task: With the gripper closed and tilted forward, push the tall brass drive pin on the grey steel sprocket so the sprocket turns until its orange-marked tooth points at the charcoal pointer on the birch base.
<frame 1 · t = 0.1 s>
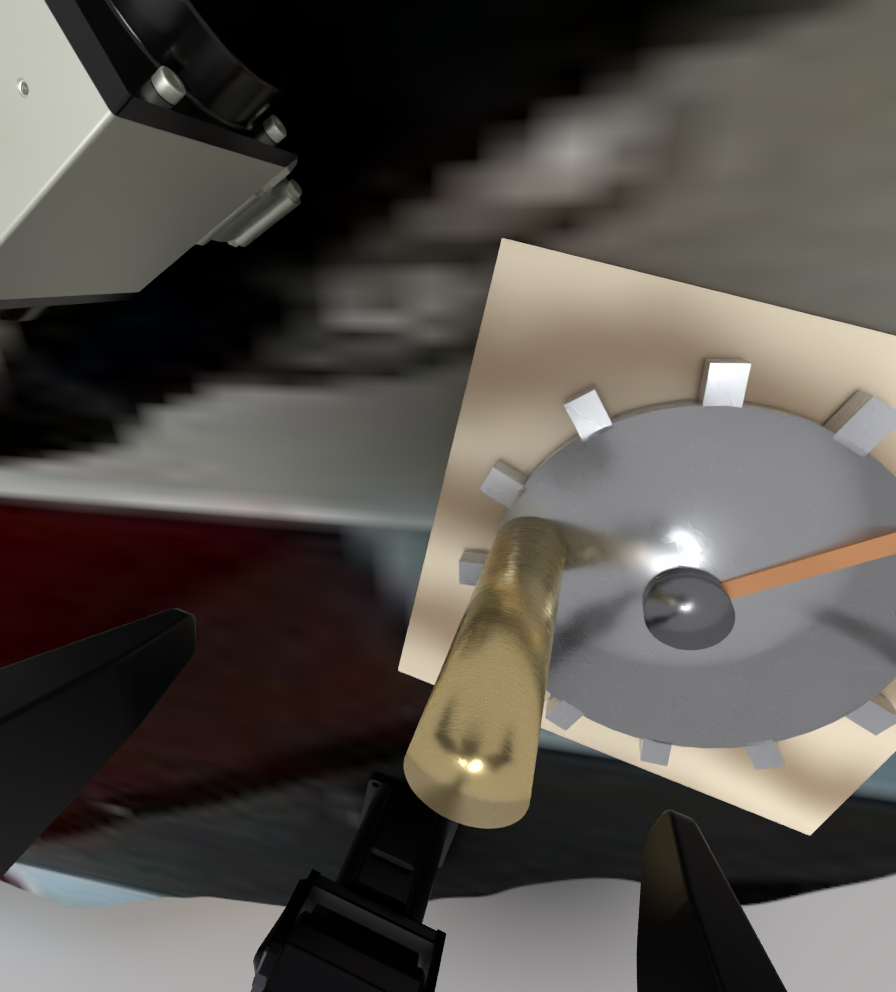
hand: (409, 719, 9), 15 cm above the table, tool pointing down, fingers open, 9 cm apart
sprocket base: (678, 572, 22), on the table
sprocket: (706, 694, 16), point 7 cm above the table, hinge at 0.0°
pneumatic valve: (251, 175, 20), on the table
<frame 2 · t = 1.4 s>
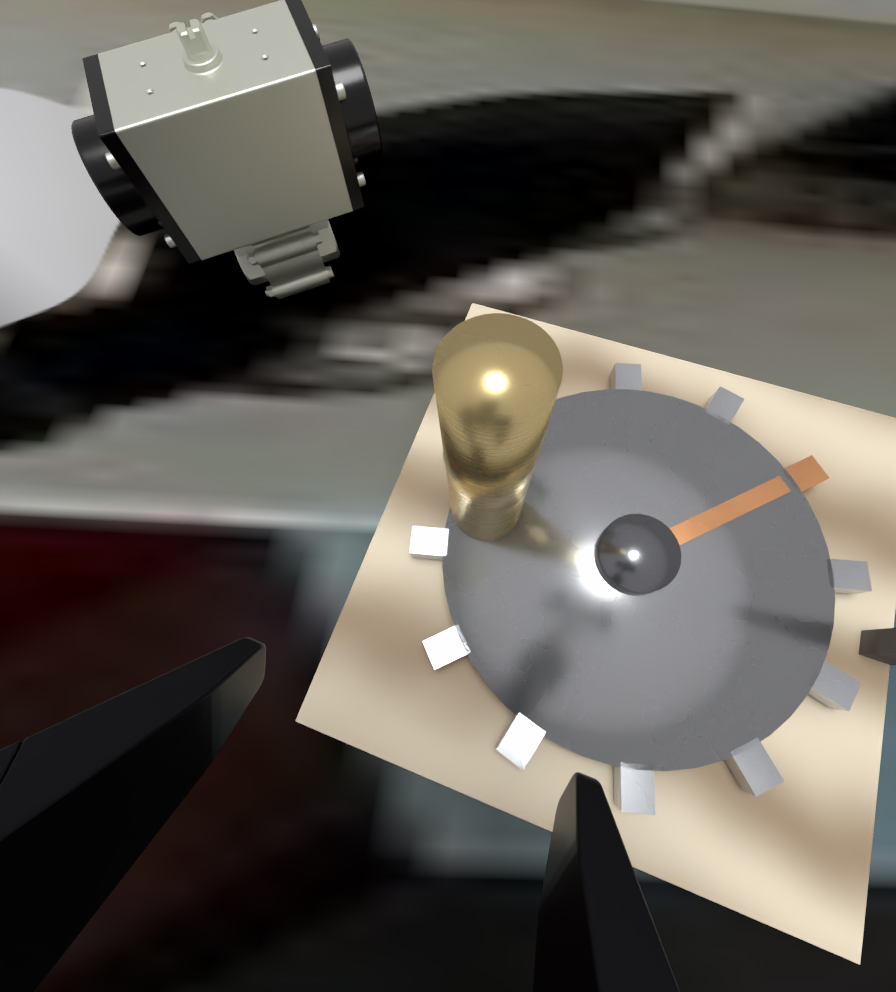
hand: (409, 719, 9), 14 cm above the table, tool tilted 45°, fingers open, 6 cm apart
sprocket base: (618, 566, 23), on the table
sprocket: (679, 526, 16), point 7 cm above the table, hinge at 0.0°
pneumatic valve: (297, 269, 30), on the table
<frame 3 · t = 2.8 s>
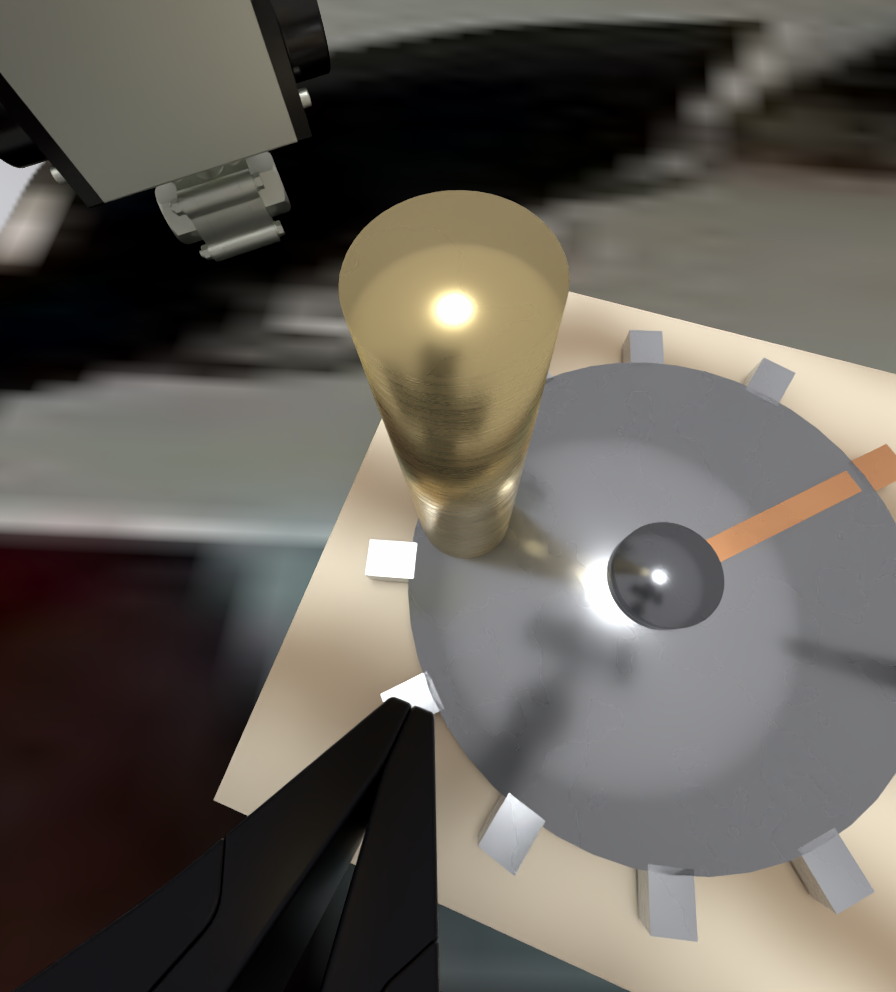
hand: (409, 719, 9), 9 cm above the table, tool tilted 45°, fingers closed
sprocket base: (636, 588, 18), on the table
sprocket: (735, 543, 11), point 7 cm above the table, hinge at 0.0°
pneumatic valve: (242, 227, 25), on the table
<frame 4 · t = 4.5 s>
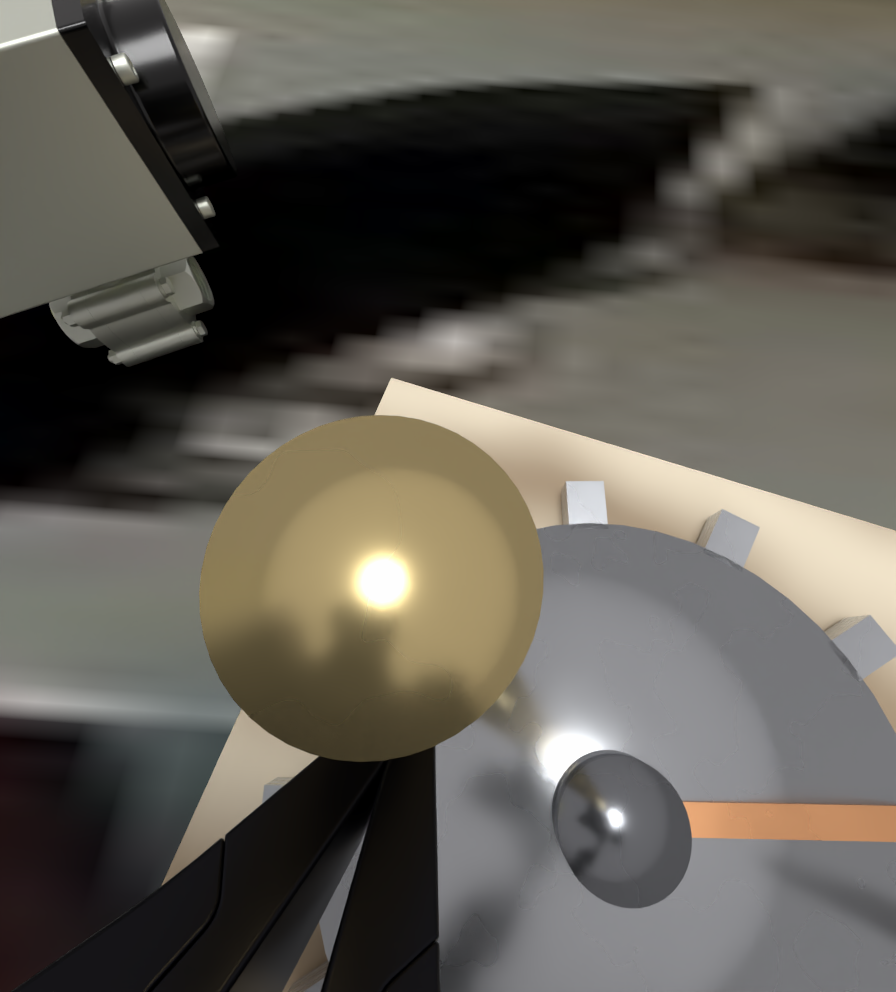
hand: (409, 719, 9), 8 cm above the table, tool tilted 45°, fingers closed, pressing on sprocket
sprocket base: (593, 795, 15), on the table
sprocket: (694, 904, 8), point 7 cm above the table, hinge at -25.4°, touching gripper
pneumatic valve: (162, 322, 22), on the table
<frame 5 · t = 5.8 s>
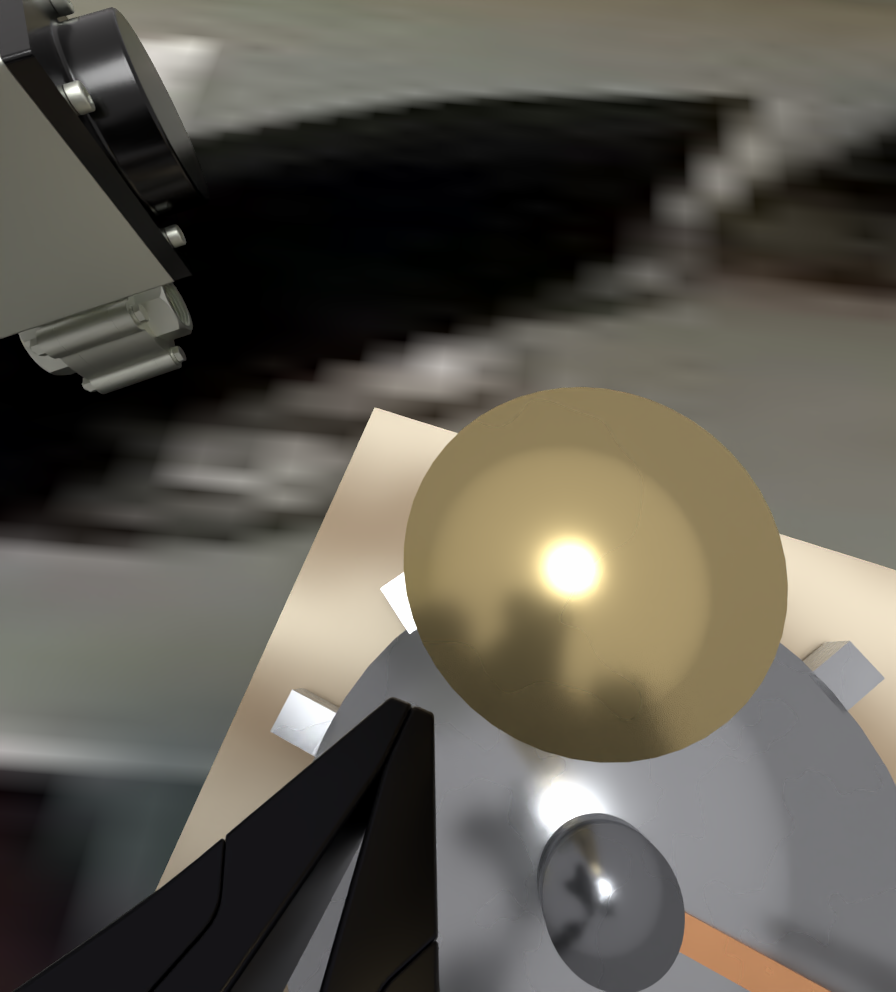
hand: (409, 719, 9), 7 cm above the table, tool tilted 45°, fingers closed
sprocket base: (583, 854, 14), on the table
pneumatic valve: (140, 346, 21), on the table
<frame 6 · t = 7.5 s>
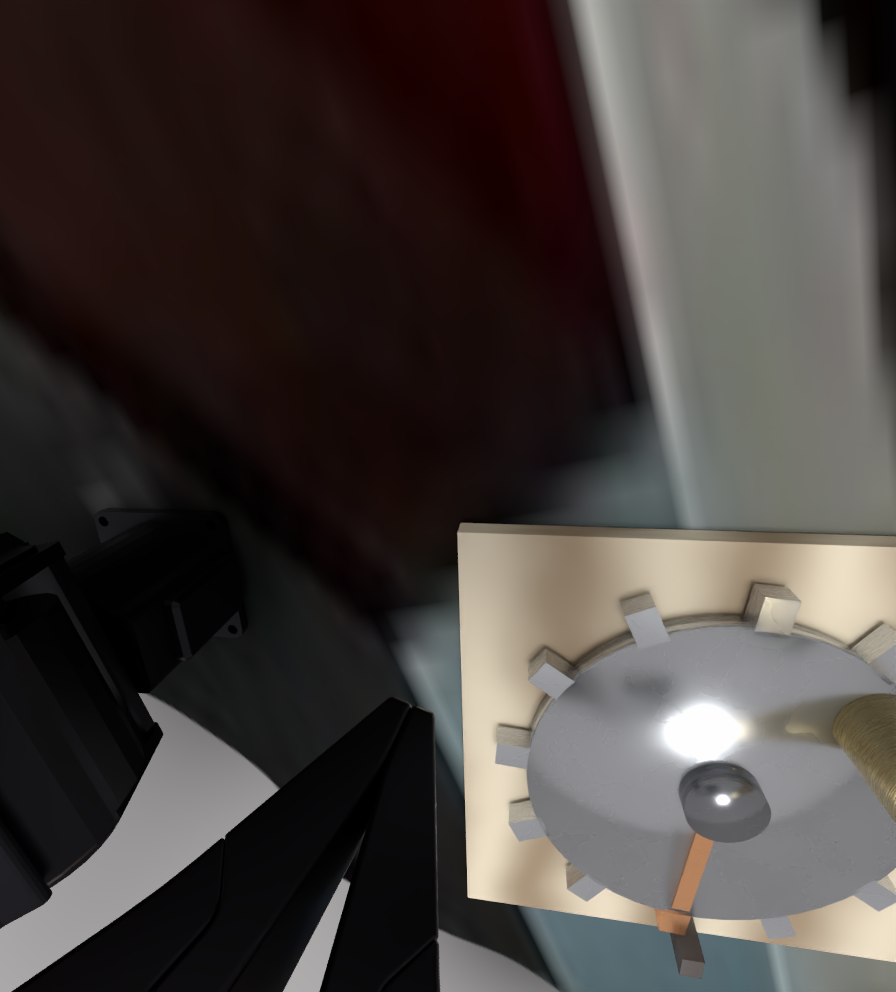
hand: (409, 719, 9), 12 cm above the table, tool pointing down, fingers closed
sprocket base: (702, 749, 23), on the table
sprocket: (771, 927, 16), point 7 cm above the table, hinge at -50.2°
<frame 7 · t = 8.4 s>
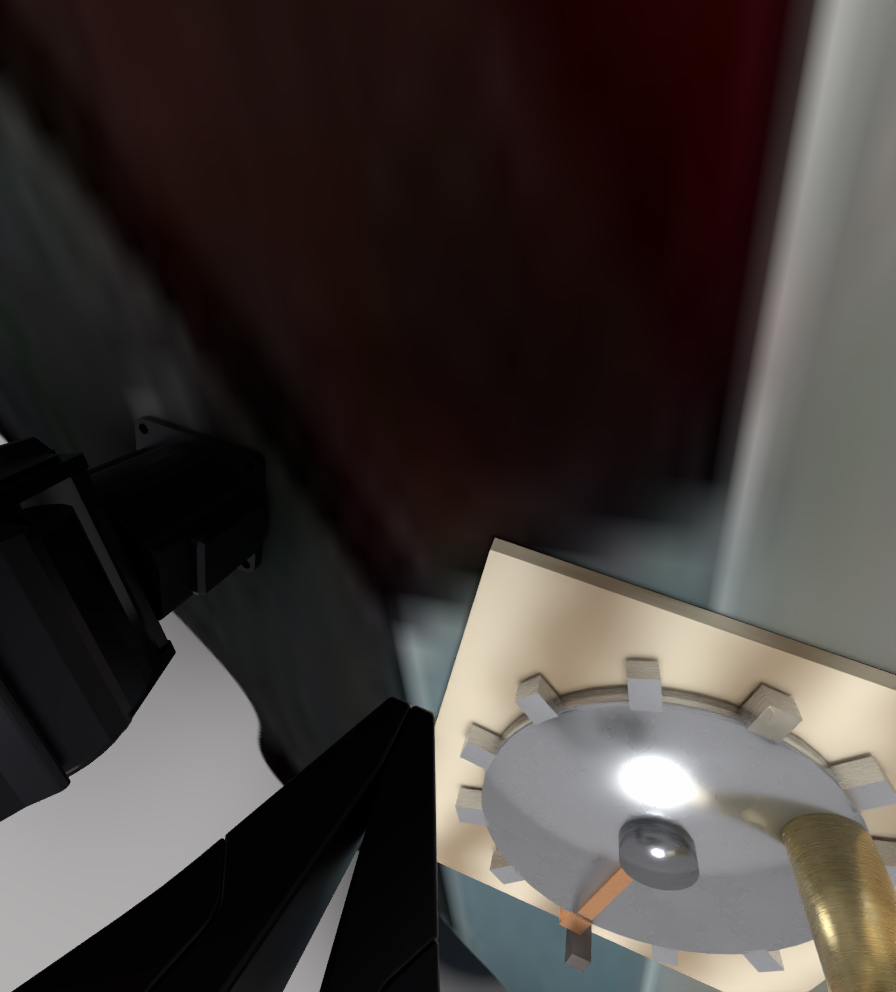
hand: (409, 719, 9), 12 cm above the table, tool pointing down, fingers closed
sprocket base: (652, 797, 24), on the table
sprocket: (668, 982, 18), point 7 cm above the table, hinge at -50.2°
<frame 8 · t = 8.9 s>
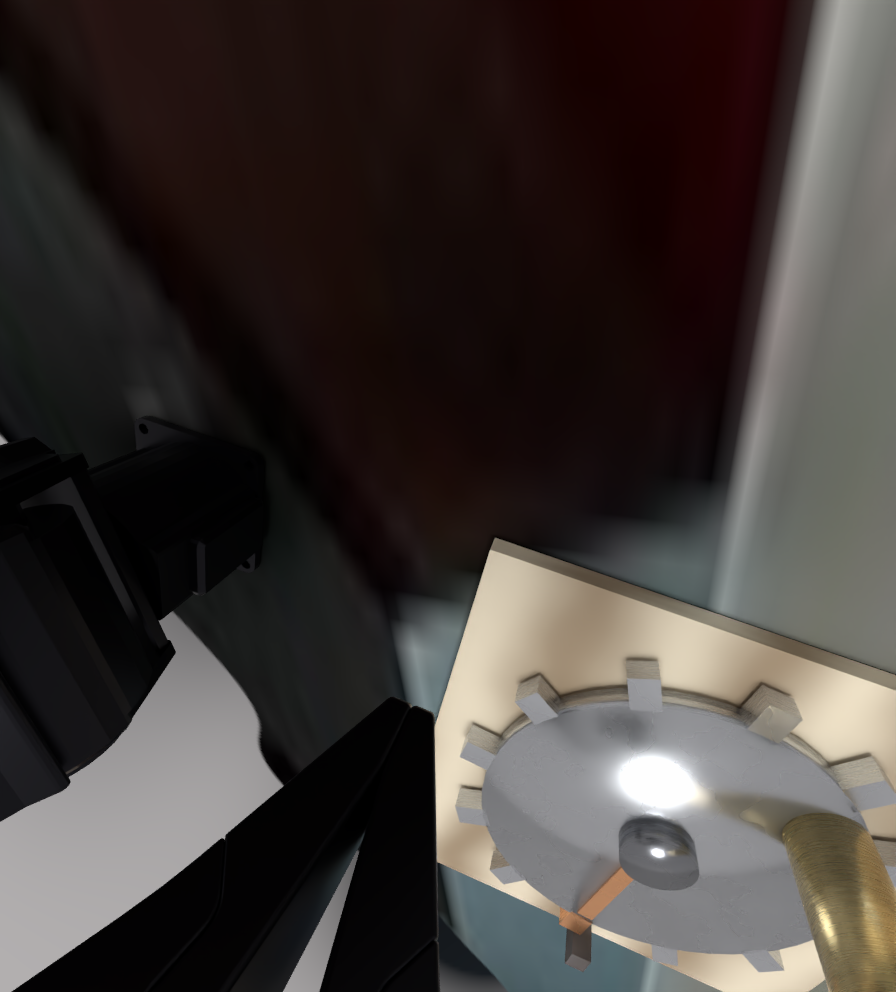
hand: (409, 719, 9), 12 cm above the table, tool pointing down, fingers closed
sprocket base: (652, 797, 24), on the table
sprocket: (668, 982, 18), point 7 cm above the table, hinge at -50.2°
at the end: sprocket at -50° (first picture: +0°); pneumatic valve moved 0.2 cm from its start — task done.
